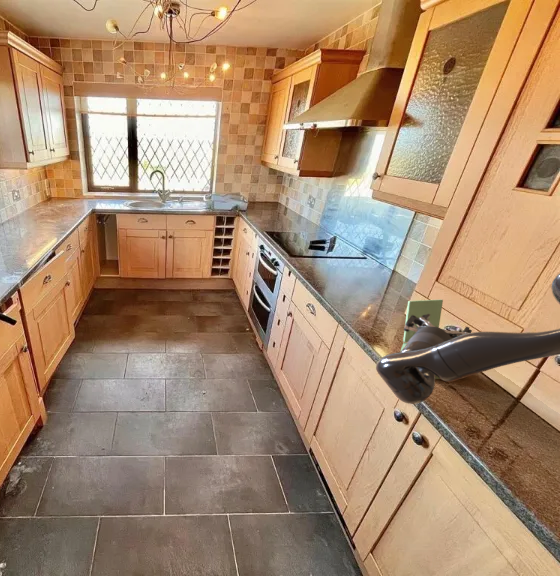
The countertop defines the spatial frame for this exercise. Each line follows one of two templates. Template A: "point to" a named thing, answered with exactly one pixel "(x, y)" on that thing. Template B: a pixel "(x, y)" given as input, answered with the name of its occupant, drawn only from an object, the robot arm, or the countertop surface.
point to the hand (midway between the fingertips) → (446, 323)
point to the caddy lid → (423, 313)
